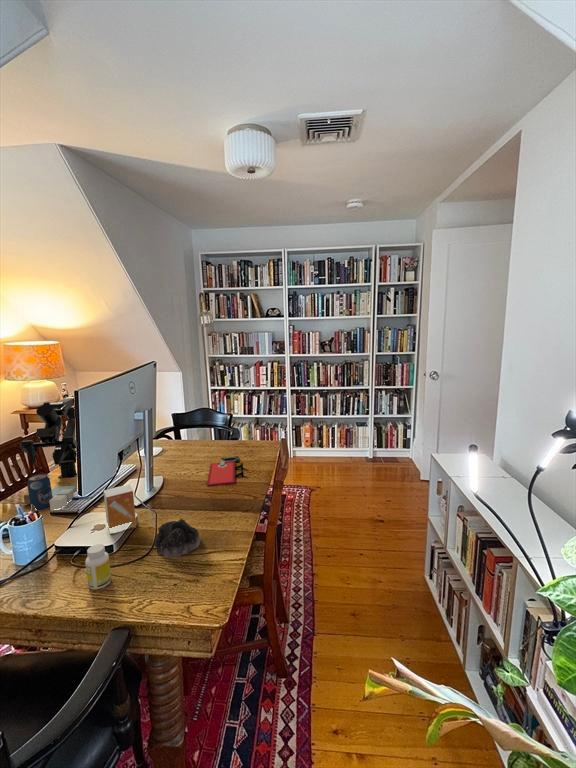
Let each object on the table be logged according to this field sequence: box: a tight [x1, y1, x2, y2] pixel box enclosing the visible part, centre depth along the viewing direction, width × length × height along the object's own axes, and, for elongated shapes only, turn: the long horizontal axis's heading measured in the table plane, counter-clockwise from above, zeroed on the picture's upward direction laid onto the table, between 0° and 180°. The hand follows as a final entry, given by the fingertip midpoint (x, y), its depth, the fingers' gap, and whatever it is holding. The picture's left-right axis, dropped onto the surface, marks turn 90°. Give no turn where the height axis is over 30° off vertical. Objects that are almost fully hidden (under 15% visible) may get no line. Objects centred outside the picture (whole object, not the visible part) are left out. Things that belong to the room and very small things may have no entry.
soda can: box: [27, 473, 52, 512], centre depth 136 cm, size 7×7×12 cm
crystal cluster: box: [153, 518, 201, 559], centre depth 110 cm, size 13×14×10 cm
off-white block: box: [49, 495, 67, 511], centre depth 136 cm, size 4×4×4 cm
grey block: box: [57, 489, 75, 502], centre depth 141 cm, size 4×4×4 cm
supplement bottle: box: [84, 543, 112, 590], centre depth 95 cm, size 5×5×10 cm
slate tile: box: [51, 485, 78, 498], centre depth 148 cm, size 9×9×1 cm
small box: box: [103, 484, 137, 529], centre depth 121 cm, size 8×6×13 cm
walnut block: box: [23, 491, 30, 505], centre depth 141 cm, size 4×4×4 cm
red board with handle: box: [206, 456, 245, 487], centre depth 167 cm, size 30×3×15 cm
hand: (45, 464), depth 143 cm, fingers open, 9 cm apart
